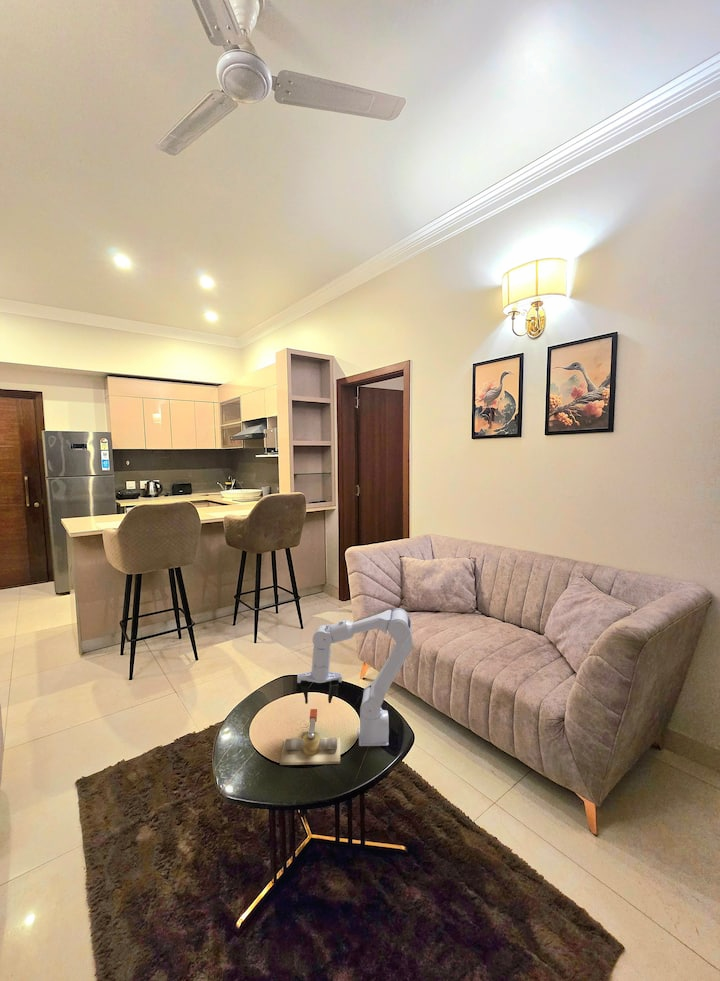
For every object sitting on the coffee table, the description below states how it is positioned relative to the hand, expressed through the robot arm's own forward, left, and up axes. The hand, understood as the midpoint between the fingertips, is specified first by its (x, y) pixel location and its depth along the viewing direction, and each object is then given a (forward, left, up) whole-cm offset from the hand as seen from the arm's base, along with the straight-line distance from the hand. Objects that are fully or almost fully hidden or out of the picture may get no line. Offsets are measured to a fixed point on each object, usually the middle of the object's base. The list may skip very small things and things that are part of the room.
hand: (317, 701), depth 133 cm
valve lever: (+1, +4, -6) cm, 7 cm away
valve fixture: (+1, +9, -11) cm, 14 cm away
